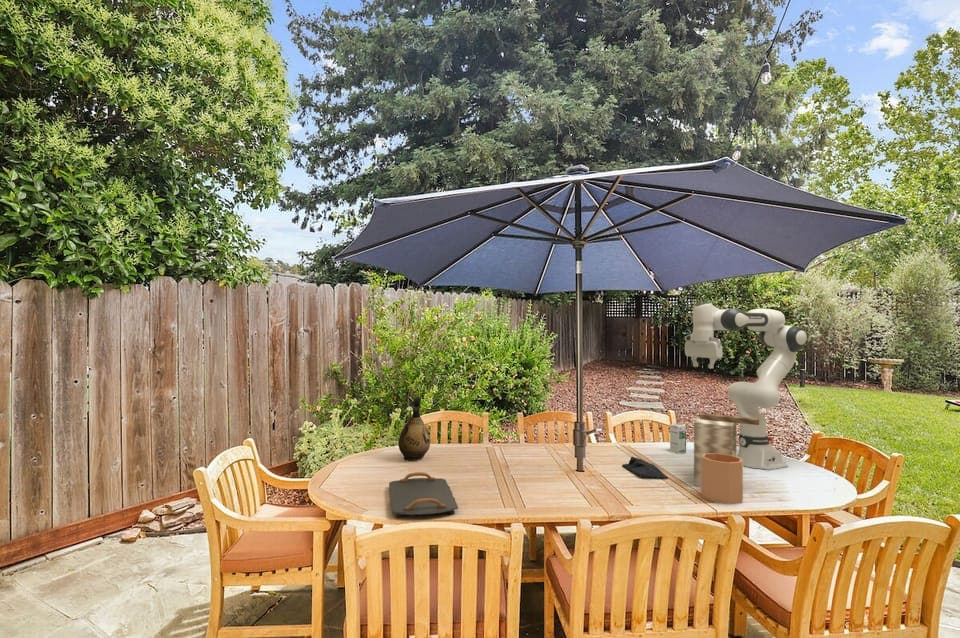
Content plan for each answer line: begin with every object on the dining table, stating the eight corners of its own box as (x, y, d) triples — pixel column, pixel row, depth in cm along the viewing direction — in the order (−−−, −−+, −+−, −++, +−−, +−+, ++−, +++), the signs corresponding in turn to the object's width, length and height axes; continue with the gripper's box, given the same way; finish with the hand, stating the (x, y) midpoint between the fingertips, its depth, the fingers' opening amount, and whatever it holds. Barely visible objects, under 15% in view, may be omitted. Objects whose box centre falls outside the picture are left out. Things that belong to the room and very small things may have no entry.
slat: (759, 423, 203) (759, 418, 203) (758, 425, 199) (758, 420, 199) (701, 417, 214) (701, 413, 214) (699, 419, 211) (699, 414, 211)
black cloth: (635, 480, 211) (636, 469, 211) (620, 465, 233) (620, 455, 233) (671, 480, 211) (671, 469, 212) (652, 466, 233) (652, 456, 234)
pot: (724, 489, 198) (724, 452, 199) (751, 501, 185) (751, 461, 185) (694, 492, 195) (694, 454, 195) (719, 504, 181) (719, 463, 182)
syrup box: (678, 454, 254) (678, 425, 254) (669, 451, 259) (669, 423, 260) (686, 452, 257) (686, 425, 257) (677, 450, 262) (677, 423, 262)
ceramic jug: (428, 463, 233) (428, 399, 233) (395, 462, 233) (396, 399, 233) (432, 454, 250) (432, 394, 250) (401, 453, 250) (402, 394, 250)
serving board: (388, 486, 200) (388, 471, 200) (444, 483, 205) (445, 468, 205) (391, 523, 162) (391, 505, 162) (461, 518, 167) (461, 500, 167)
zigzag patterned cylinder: (736, 477, 215) (736, 417, 215) (731, 491, 196) (732, 426, 196) (701, 472, 222) (701, 414, 222) (693, 485, 203) (694, 422, 204)
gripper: (726, 337, 218) (726, 369, 218) (693, 336, 238) (693, 365, 237) (714, 337, 216) (714, 369, 216) (682, 336, 236) (682, 365, 236)
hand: (703, 367), depth 227 cm, fingers open, 8 cm apart
